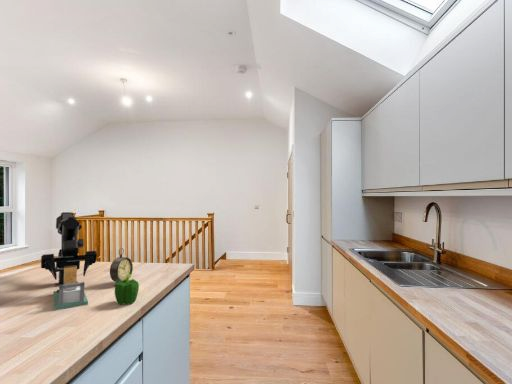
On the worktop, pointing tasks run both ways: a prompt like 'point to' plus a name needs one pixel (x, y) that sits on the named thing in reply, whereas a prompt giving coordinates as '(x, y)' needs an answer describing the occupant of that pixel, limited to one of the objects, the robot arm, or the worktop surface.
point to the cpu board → (67, 305)
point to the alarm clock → (121, 268)
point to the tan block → (70, 276)
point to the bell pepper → (126, 291)
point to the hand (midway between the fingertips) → (70, 277)
